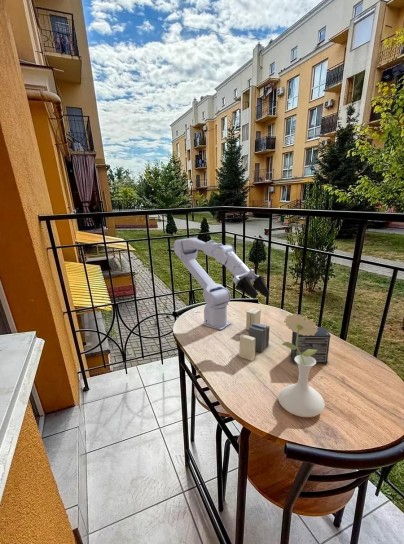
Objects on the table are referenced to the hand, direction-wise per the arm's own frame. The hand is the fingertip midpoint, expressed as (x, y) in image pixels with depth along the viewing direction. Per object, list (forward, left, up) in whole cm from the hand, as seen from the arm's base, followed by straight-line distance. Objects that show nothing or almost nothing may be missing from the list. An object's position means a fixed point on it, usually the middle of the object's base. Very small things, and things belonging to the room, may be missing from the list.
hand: (261, 295), depth 97 cm
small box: (+17, +1, -19) cm, 26 cm away
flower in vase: (+22, -22, -19) cm, 37 cm away
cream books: (-9, +11, -19) cm, 23 cm away
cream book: (0, -10, -19) cm, 22 cm away
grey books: (0, -2, -19) cm, 19 cm away
